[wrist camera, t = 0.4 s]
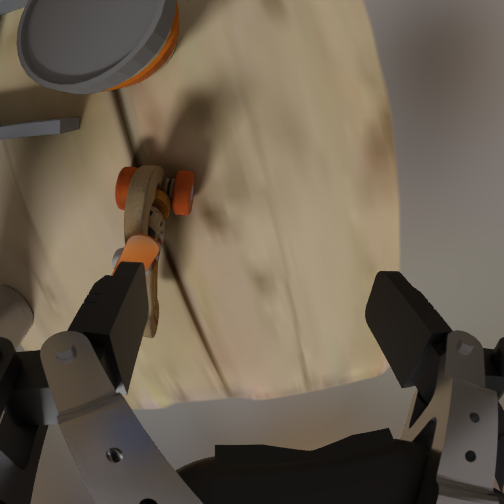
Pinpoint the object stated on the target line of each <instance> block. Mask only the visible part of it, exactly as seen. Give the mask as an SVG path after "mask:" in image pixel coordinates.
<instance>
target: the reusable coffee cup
mask: <svg viewBox="0 0 504 504" xmlns="http://www.w3.org/2000/svg"><path fill="white" fill-rule="evenodd" d="M178 35H179V14H178V6H177V2H176V0H29V1H28V2H27V4H26V6H25V9H24V11H23V13H22V16H21V19H20V23H19V27H18V32H17V51H18V56H19V59H20V62H21V65H22V67H23V69H24V70H25V72H26V73H27V75H28V76H29V77H30V78H31V79H33V80H34V81H35V82H36V83H38V84H40V85H42V86H44V87H46V88H49V89H54V90H58V91H63V92H67V93H72V94H91V93H96V92H103V91H108V90H114V89H118V88H122V87H127V86H130V85H133V84H136V83H139V82H141V81H143V80H145V79H146V78H148V77H150V76H152V75H154V74H156V73H157V72H159V71H160V70H161V69H162V68H163V67H164V66H165V65H166V64H167V63H168V62H169V60H170V59H171V57H172V55H173V53H174V50H175V46H176V43H177V39H178Z"/></svg>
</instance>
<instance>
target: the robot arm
mask: <svg viewBox="0 0 504 504" xmlns="http://www.w3.org/2000/svg"><path fill="white" fill-rule="evenodd" d="M148 312H149V303H148V293H147V284H146V274H145V266H144V263H143V262H127V261H121V262H120V263H119V265H118V267H117V268H116V270H115V272H114V274H113V275H112V276H110V275H105V276H104V277H103V278H101V279H100V280H99V281H97V282H96V283H95V284H94V285H93V287H92V289H91V290H90V292H89V295H87V297H86V299H85V300H84V303H83V304H82V305H81V307H80V309H79V311H78V312H77V314H76V316H75V318H74V319H73V321H72V323H71V325H70V327H69V328H68V330H67V331H64V332H60V333H57V334H54V335H53V336H51V337H50V338H48V339H47V340H46V341H45V342H44V344H43V345H42V347H41V350H36V351H25V352H16V349H17V348H18V346H19V345H20V343H21V341H22V340H23V338H24V337H25V335H26V334H27V332H28V331H29V329H30V328H31V326H32V324H33V314H32V311H31V308H30V306H29V305H28V303H27V302H26V300H25V299H24V298H23V297H22V296H21V295H20V294H19V293H18V292H17V291H15V290H14V289H12V288H10V287H7V286H0V418H1V415H2V413H3V410H4V411H5V413H4V415H3V418H2V421H1V424H0V504H30V503H31V497H32V492H33V486H34V482H35V477H36V472H37V468H38V463H39V459H40V455H41V451H42V447H43V443H44V439H45V436H46V432H47V429H48V425H54V424H59V427H60V430H61V432H62V434H63V437H64V439H65V442H66V444H67V446H68V449H69V451H70V453H71V455H72V457H73V459H74V462H75V464H76V466H77V468H78V470H79V472H80V474H81V476H82V478H83V480H84V482H85V484H86V486H87V487H88V489H89V491H90V493H91V495H92V496H93V498H94V500H95V502H96V504H504V410H503V409H502V407H501V405H500V403H499V401H498V400H499V399H500V398H501V397H502V395H503V394H504V337H503V338H501V339H500V340H499V342H498V344H497V345H496V347H495V348H494V349H486V348H483V347H482V345H481V343H480V342H479V341H478V340H477V339H476V338H475V337H474V336H472V335H471V334H469V333H467V332H464V331H459V330H458V331H457V330H456V331H452V329H451V328H450V327H449V326H448V325H447V323H446V322H445V321H444V320H443V318H442V317H441V316H440V314H439V313H438V312H437V311H436V310H435V309H434V307H433V306H432V305H431V304H430V303H429V302H428V300H427V299H426V298H425V297H424V295H423V294H422V293H421V292H420V291H418V290H417V289H416V288H414V287H412V285H411V284H410V283H409V282H408V281H407V280H406V279H405V277H404V276H403V275H402V274H401V273H400V272H398V271H380V272H378V273H377V275H376V277H375V280H374V284H373V287H372V290H371V293H370V296H369V299H368V302H367V306H366V310H365V318H366V322H367V324H368V326H369V328H370V330H371V331H372V333H373V335H374V337H375V339H376V340H377V342H378V344H379V346H380V348H381V350H382V351H383V353H384V355H385V357H386V359H387V361H388V363H389V364H390V366H391V368H392V370H393V372H394V374H395V376H396V378H397V380H398V382H399V384H400V385H401V387H402V388H406V387H412V386H416V387H417V390H416V391H415V393H414V394H413V397H412V401H411V405H410V408H409V412H408V416H407V419H406V423H405V426H404V429H403V433H402V435H401V438H400V439H393V437H392V434H391V432H390V430H389V428H386V429H381V430H377V431H372V432H367V433H361V434H356V435H351V436H349V437H347V438H344V439H342V440H340V441H337V442H334V443H332V444H329V445H327V446H324V447H322V448H319V449H316V450H313V451H305V450H296V449H288V448H280V447H275V446H268V445H215V456H214V457H209V458H204V459H201V460H198V461H195V462H192V463H190V464H187V465H185V466H183V467H181V468H179V469H177V470H176V471H175V470H174V469H173V467H172V466H171V465H170V463H169V462H168V461H167V460H166V458H165V457H164V456H163V454H162V453H161V452H160V450H159V449H158V448H157V446H156V445H155V443H154V442H153V441H152V439H151V438H150V436H149V435H148V433H147V432H146V431H145V429H144V428H143V426H142V425H141V423H140V422H139V420H138V419H137V417H136V416H135V414H134V413H133V411H132V409H131V408H130V406H129V405H128V403H127V402H126V400H125V398H124V397H123V396H122V394H123V395H127V393H128V389H129V385H130V381H131V377H132V373H133V370H134V366H135V362H136V358H137V355H138V351H139V347H140V344H141V340H142V337H143V333H144V330H145V326H146V323H147V319H148ZM494 477H495V478H496V480H497V483H498V485H499V488H500V491H499V490H497V489H495V488H493V485H494Z"/></svg>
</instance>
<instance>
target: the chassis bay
mask: <svg viewBox="0 0 504 504" xmlns="http://www.w3.org/2000/svg"><path fill="white" fill-rule="evenodd" d="M28 1H29V0H0V16H1V15H4V14H6V13H9V12H11V11H14V10H17V9H20V8H23V7H25V6H26V4H27V2H28ZM79 125H80V117H70V118H57V119H47V120H37V121H29V122H21V123H14V124H7V125H1V126H0V140H1V139H9V138H18V137H27V136H38V135H50V134H61V133H65V132H69V131H73V130H77V129H79Z"/></svg>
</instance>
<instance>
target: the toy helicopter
mask: <svg viewBox="0 0 504 504" xmlns="http://www.w3.org/2000/svg"><path fill="white" fill-rule="evenodd" d="M194 185H195V174H194V172H192V171H184V170H180V171H178V172H177V174H176V178H175V179H174V178H165V174H164V171H163V169H162V168H161V167H160V166H152V165H143V166H141V167H139V168H136V167H124V168H123V169H122V170H121V171H120V173H119V176H118V179H117V183H116V190H115V196H116V203H117V206H118V208H120V209H122V210H125V215H124V236H125V247H124V248H120V249H118V250H117V251H116V252H115V254H114V257H113V260H112V264H113V267H114V271H113V274H114V272H115V270H116V268H117V267H118V265H119V263H120V262H121V261H127V262H143V263H144V266H145V274H146V284H147V293H148V303H149V312H148V319H147V323H146V326H145V330H144V333H143V336H144V337H149V338H153V337H154V336H155V334H156V330H157V326H158V318H159V303H158V300H157V274H158V260H159V255H160V250H161V246H162V243H163V241H164V239H165V234H166V224H165V220H166V219H167V217H168V216H169V213H170V210H171V208H172V209H173V211H174V213H175V214H176V215H189V214H190V212H191V209H192V204H193V196H194ZM113 274H112V275H113Z"/></svg>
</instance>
